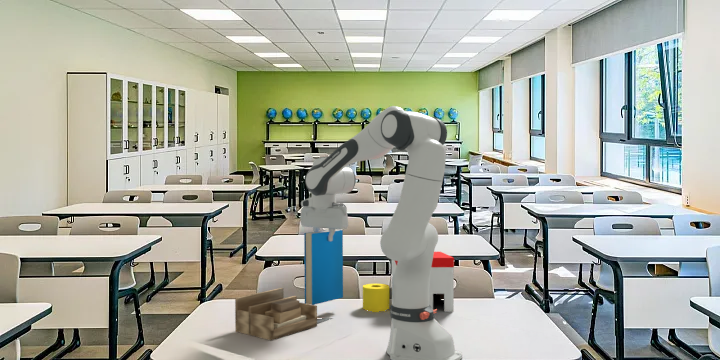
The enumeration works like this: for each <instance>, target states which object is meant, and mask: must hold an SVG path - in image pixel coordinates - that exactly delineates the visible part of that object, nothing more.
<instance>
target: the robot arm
mask: <svg viewBox="0 0 720 360" xmlns="http://www.w3.org/2000/svg"><path fill="white" fill-rule="evenodd" d="M447 137H448V130H447V126H446V124H445V123H444V122H443V121H442V120H441V119H439V118H438V117H434V116H429V115H426V114H423V113H421V112H416V111H410V110H409V111H408V110H404V109H403V108H401V107H399V106H396V105H390V106H388V107H386V108H385V109H383V110H382V111H381V112H380V113H378V114H377V115H376V116H375V117H373V119H371V120H370V122H369V123H368V124H367V125H366V126H365V127H364V128H363V129H362V130H361V131H359V132H358V133H357V134H356V135H354V136H353V137H351V138H350V139H348V140H346V141H345V142H344V143H341V145H340V146H338V147H337V148H336V149H335V150H333V152H331V153H330V155H328V156H321V157H318V158H315V159H314V160H313V162H312V166H311V167H310V169H308V171H307V173H306V175H305V178H304V183H305V187H306V188H307V190H308V191H309V192H310V193H311V197H308V198H305V199H304V200H301V202H300V205H301V208H300V217H299V220H300V225H301V226H302V227H303V228H305V227H306V228H312V229H313V230H312V232H319V231H320V230H321V229H328V230H329V232H330V233H329V235H328V236H327V241H333V235H334V233H335V230H347V229H348V227H349V217H348V211H347V210H348V209H347V205H345V203H344V202H343V203H342V202H337V195H339V194H340V195H341V194H342V195H343V194H348V193H351V192H352V191H353V190H354V188H355V186H356V181H357V179H356V174H355V172H354V170H353V169H352V168H351V167H349V165H351V164H353V163H357V162H363V161H370V160H377V159H380V158H382V157H384V156H386V155H387V154H388V153H389V152H391V151H392V150H393V149H394V148H396V149H397V150H398V151H404V150H405V151H406V153H407V154H408V161H407V166H406V170H405V175H404V180H403V184H402V187H401V193H400V197H399V200H398V203H397V205H396V208H395V210H394V212H393V215H392V217H391V219H390V222H389V224H388V226H387V228H386V229H385V230H384V232H383V233H382V235H381V237H380V242H379V244H380V248H381V249H380V250H381V251H382V253H383V254H384V256H385V257H387V259H389V260H391V261H392V260H395V261H398V263H397V267H396V270H395V273H394V275H393V277H392V276H391V304H390V309H389V310H390V322H391V323H390V324H391V325H390V326H391V327H390V333H389V340H388V345H387V348H386V354H387V355H389V359H390V360H462V358H463V352H462V351H459V350H456V349H455V341H454V338H453V335H452V334H451V333H450V332H449V331H448V330H447V329H446V328H445V327H444V326H442V325H441V323H440V322H439V321H437V319H435V315H434V314H436V313H438V312H437V311H438V309H437V308H436V309H433V310H432V309H431V306H430V305H429V279H430V271H431V266H432V261H433V255H434V252H435V249H436V246H437V244H438V241H439V233H438V230H437V229H436V227H435V226H434V225H433V223H430V220H431V218H432V216H433V213H435V211H436V209H437V207H438V203H439V198H440V196H441V195H440V194H441V190H442V185H443V181H444V176H445V170H446V162H447V161H446V160H447V159H446V158H447V157H446V156H447V155H446V148H445V146H444V145H445V143H446V140H447Z"/></svg>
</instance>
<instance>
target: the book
mask: <svg viewBox="0 0 720 360" xmlns="http://www.w3.org/2000/svg"><path fill="white" fill-rule="evenodd" d="M343 230H344V229H342V230H341V229H335V233H334V235H333V241H327V236H328V235H329V233H330V232H329V229H328V230H321V231H320V230H319V232H314V231H311V232H304V234H303V235H304V236H303V237H304V238H303V240H304V243H303V244H304V248H303V249H304V253H303V254H304V258H303V259H304V303H305V304H311V305H318V304H323V303H326V302H331V301H334V300H340V299H343V298H344V253H343V252H344V250H343V249H344V247H343V244H344V243H343V242H344V239H343V238H344V237H343V236H344V235H343V232H344V231H343Z"/></svg>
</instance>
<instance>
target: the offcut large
mask: <svg viewBox="0 0 720 360" xmlns="http://www.w3.org/2000/svg"><path fill="white" fill-rule="evenodd" d="M303 320H306V316H305V315H301V317H298V318H295V319H292V320H289V321H287V322H284V323H281V324H278V323H274V329H276V328H279V327H282V326H286V325H289V324H293V323H296V322H300V321H303Z"/></svg>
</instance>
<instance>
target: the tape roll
mask: <svg viewBox="0 0 720 360" xmlns="http://www.w3.org/2000/svg"><path fill="white" fill-rule="evenodd" d="M390 288H391V287H390V285H389V284H386V283H367V284H363V285H362V309H365V310H368V311H372V312H371V313H380V312H379V311H384V312H386V311H385V310H387V309H389V308H390V309H391V304H390V303H391V302H390V293H391V291H390ZM390 309H389V310H390ZM365 310H364V311H365ZM368 311H367V312H368ZM387 311H388V310H387Z"/></svg>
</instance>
